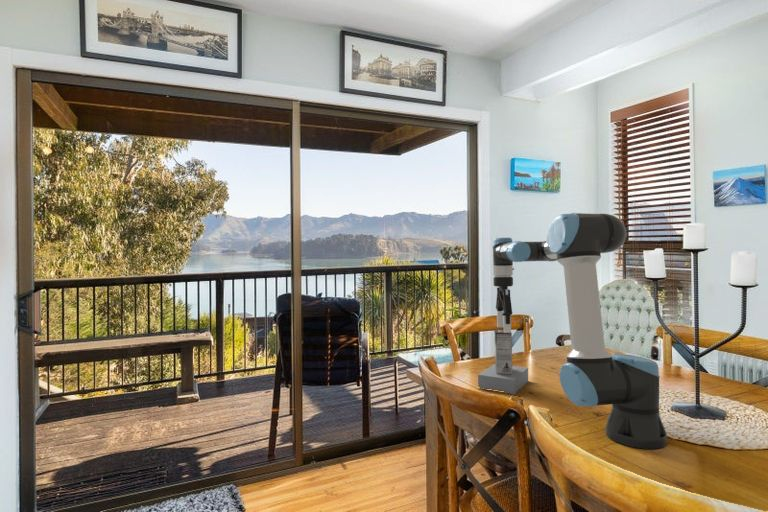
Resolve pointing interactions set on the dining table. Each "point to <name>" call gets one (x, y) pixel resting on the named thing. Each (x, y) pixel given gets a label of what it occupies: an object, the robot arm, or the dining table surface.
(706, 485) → the dining table surface
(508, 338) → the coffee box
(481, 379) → the grey flat block
